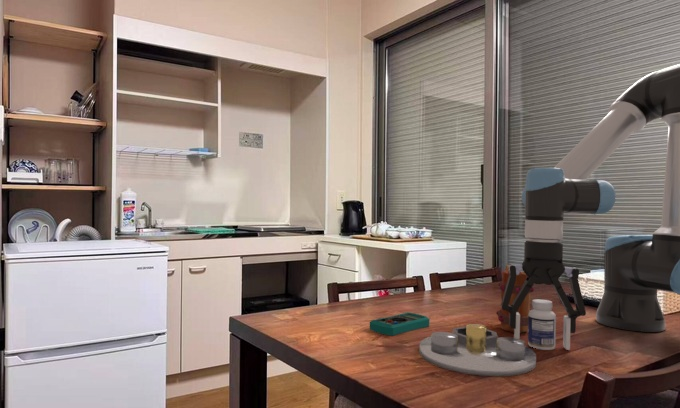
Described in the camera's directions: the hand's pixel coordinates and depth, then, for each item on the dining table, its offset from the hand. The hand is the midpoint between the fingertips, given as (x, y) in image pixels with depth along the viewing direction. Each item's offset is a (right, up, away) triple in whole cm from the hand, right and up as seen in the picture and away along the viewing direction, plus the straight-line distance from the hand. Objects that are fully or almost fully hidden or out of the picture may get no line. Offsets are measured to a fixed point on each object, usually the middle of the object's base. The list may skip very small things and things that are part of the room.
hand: (541, 345), depth 99 cm
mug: (0, -1, +16) cm, 16 cm away
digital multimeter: (-28, 0, +13) cm, 31 cm away
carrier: (-16, 0, -7) cm, 18 cm away
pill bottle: (0, 0, 0) cm, 0 cm away
